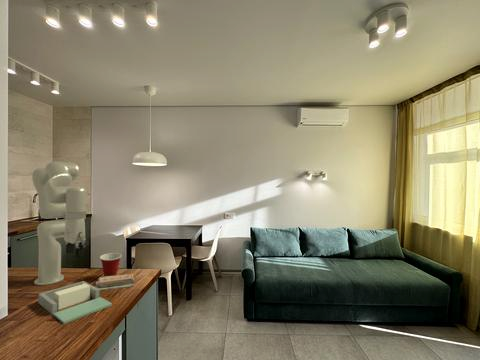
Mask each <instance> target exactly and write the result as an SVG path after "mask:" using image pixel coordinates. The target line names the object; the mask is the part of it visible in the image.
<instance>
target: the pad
mask: <svg viewBox="0 0 480 360" xmlns="http://www.w3.org/2000/svg"><path fill="white" fill-rule="evenodd" d="M112 305H113V303H112V302H110V301H108V300H107V299H105V298H103V297H102V296H99V298H96V299H94V298H92V300H90V299H89V300H87V301H84V302H81V303H78V304H75V305H74V306H73V305H72V306H69V307H66V308H65V309H61V310H60V311H59V310H58V311H57V312H56V313H53V317H54V318H56V319H57V320H59V322H61V323H62V324H63V325H64V324H65V325H66V324H68V323H70V322H73V321H75V320H78V319H81V318H83V317H85V316H88V315H91V314H94V313H96V312H98V311H101V310H103V309H106V308H109V307H110V306H112ZM90 313H91V314H90Z"/></svg>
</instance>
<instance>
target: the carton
mask: <svg viewBox="0 0 480 360" xmlns="http://www.w3.org/2000/svg"><path fill="white" fill-rule="evenodd" d="M90 299H91V296H90V286H89V285H87V284H81V285H78V286H74V287H71V288H68V289H64V290H61V291H57V292H54V301H55V302H56V303H57V311H59V310H60V311H61V310H63V309H64V308H65V309H66V308H69V307H72V306H73V305H74V306H75V305H78V304H81V303H84V302H87V301H90Z"/></svg>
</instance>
